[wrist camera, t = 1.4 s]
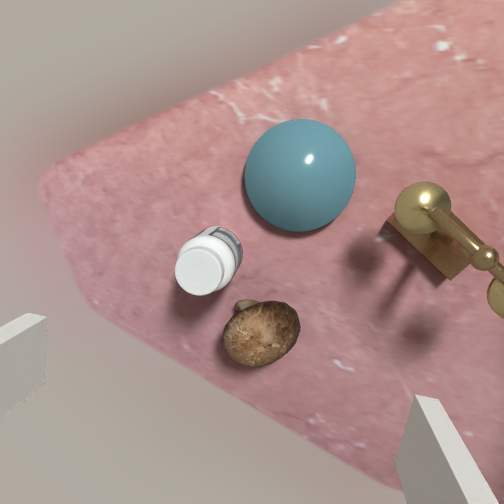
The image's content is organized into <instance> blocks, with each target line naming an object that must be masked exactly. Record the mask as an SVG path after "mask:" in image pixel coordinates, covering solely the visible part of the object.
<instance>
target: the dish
mask: <svg viewBox="0 0 504 504" xmlns="http://www.w3.org/2000/svg"><path fill="white" fill-rule="evenodd" d="M355 179H356V169H355V162H354V159H353V155H352V153H351V151H350V148H349V147H348V145H347V143H346V142H345V141H344V139H343V138H342V137H341V136H340V135H339V134H338V133H337V132H336V131H335V130H333V129H332V128H330V127H329V126H327V125H325V124H323V123H320V122H317V121H313V120H306V119H297V120H290V121H286V122H283V123H280V124H278V125H276V126H274V127H272V128H271V129H269V130H268V131H267V132H265V133H264V134H263V135H262V136H261V137H260V138H259V139H258V141H257V142H256V143H255V145H254V146H253V148H252V149H251V152H250V154H249V156H248V159H247V162H246V167H245V187H246V191H247V194H248V197H249V200H250V202H251V204H252V205H253V207H254V208H255V210H256V211H257V212H258V213H259V215H260V216H261V217H262V218H264V219H265V220H266V221H267V222H269V223H270V224H272V225H274V226H276V227H278V228H281V229H284V230H288V231H296V232H301V231H310V230H314V229H317V228H320V227H322V226H324V225H326V224H328V223H329V222H331V221H332V220H334V219H335V218H336V217H337V216H338V215H339V214H340V213H341V212H342V211H343V210H344V208H345V207H346V205H347V204H348V202H349V200H350V198H351V196H352V193H353V190H354V186H355Z"/></svg>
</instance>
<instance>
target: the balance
mask: <svg viewBox="0 0 504 504" xmlns="http://www.w3.org/2000/svg"><path fill="white" fill-rule="evenodd" d="M386 221H387V222H388V223H389V224H390V225H391V226H392V227H393V228H394V229H395V230H397V231H398V232H399V233H400V234H401V235H402V236H403V237H404V238H405V239H406V240H407V241H408V242H409V243H410V244H411V245H412V246H413V247H414V248H416V249H417V250H418V251H419V252H420V253H421V254H422V255H423V256H424V257H425V258H426V259H427V260H428V261H429V262H430V263H431V264H432V265H433V266H435V267H436V268H437V269H438V270H439V271H440V272H441V273H442V274H443V275H444V276H445V277H447V278H448V279H449V280H450V281H451V280H452V279H453V278H454V277H455V276H456V275H457V274H459V273H460V272H461V271H462V270H463V269H464V268H465V267H467V266H468V265H469V264H470V263H471V265H472V266H473V267H474V268H475V269H477V270H481V271H489V272H490V273H491V274H492V275H493V276H494V277H495V278H494V279H493V280H492V281H491V283H490V285H489V287H488V290H487V301H488V304H489V306H490V307H491V309H492V310H493V311H494V312H495V313H496V314H498V315H499V316H500V317H502V318H504V266H503V265H502V264H501V263H499V254H498V252H497V251H496V249H494V248H493V247H491V246H488V245H485V244H484V243H483V242H482V241H481V240H480V239H479V238H478V237H477V236H476V235H475V234H474V233H473V232H472V231H471V230H470V229H469V228H468V227H467V226H466V225H465V224H464V223H463V222H462V221H461V220H460V219H458V218H457V217H456V216H455V215H454V214H453V213H452V212H451V201H450V198H449V196H448V194H447V192H446V191H445V190H444V189H443V188H442V187H440V186H439V185H437V184H434V183H430V182H418V183H414V184H412V185H410V186H408V187H407V188H405V189H404V190H403V191H402V192H401V193H400V195H399V196H398V198H397V200H396V204H395V212H394V213H393V214H392V215H391V216H390V217H389V218H388V219H387V220H386Z"/></svg>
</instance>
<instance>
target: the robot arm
mask: <svg viewBox="0 0 504 504" xmlns="http://www.w3.org/2000/svg"><path fill="white" fill-rule="evenodd" d="M46 334H47V317H45V316H41V315H36V314H31V313H26V314H24V315H22V316H21V317H19V318H17V319H15V320H13V321H11V322H9V323H7V324H6V325H4V326H2V327H0V421H1V420H2V419H4V418H5V417H6V416H7V415H8V414H10V413H11V412H12V411H13V410H14V409H15V408H17V407H18V406H19V405H20V404H21V403H23V402H24V401H25V400H26V399H27V398H28V397H30V396H31V395H32V394H33V393H34V392H36V391H37V390H38V389H39V388H40V387H41V386H43V385H44V384H45V362H46V336H47V335H46ZM395 466H396V469H397V472H398V475H399V478H400V482H401V485H402V488H403V491H404V495H405V498H406V501H407V504H499V503H498V501H497V499H496V498H495V496H494V494H493V492H492V491H491V489H490V487H489V486H488V484H487V482H486V480H485V479H484V477H483V475H482V474H481V472H480V470H479V468H478V467H477V465H476V463H475V461H474V460H473V458H472V456H471V455H470V453H469V451H468V449H467V448H466V446H465V444H464V443H463V441H462V439H461V437H460V436H459V434H458V432H457V430H456V429H455V427H454V425H453V424H452V422H451V420H450V418H449V417H448V415H447V413H446V412H445V410H444V408H443V406H442V405H441V403H440V401H439V399H434V398H429V397H424V396H420V395H415V396H414V400H413V403H412V406H411V410H410V413H409V417H408V420H407V424H406V427H405V430H404V434H403V437H402V441H401V444H400V447H399V451H398V454H397V458H396V461H395Z"/></svg>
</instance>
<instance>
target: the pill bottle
mask: <svg viewBox="0 0 504 504" xmlns="http://www.w3.org/2000/svg"><path fill="white" fill-rule="evenodd" d="M242 258H243V245H242V242H241V240H240V238H239V237H238V235H237V234H236V233H235V232H233V231H232V230H230V229H229V228H226V227H222V226H213V227H209V228H207V229H205V230H203V231H201V232H200V233H199V234H197V235H196V236H194V237H193V238H191V239H190V240H188V241H187V242H186V243H185V244H184V245H183V247H182V248H181V250H180V252H179V254H178V258H177V263H176V266H175V276H176V279H177V282H178V283H179V285H180V286H181V287H182V288H183V289H184V290H185V291H186V292H188V293H190V294H193V295H201V296H202V295H206V294H209V293H211V292H214V291H217V290H220V289H221V288H223V287H224V286H226V285H227V284H228V283H229V281H230V280H231V279H232V277H233V275H234V274H235V272H236V270H237V268H238V267H239V265H240V263H241V261H242Z"/></svg>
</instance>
